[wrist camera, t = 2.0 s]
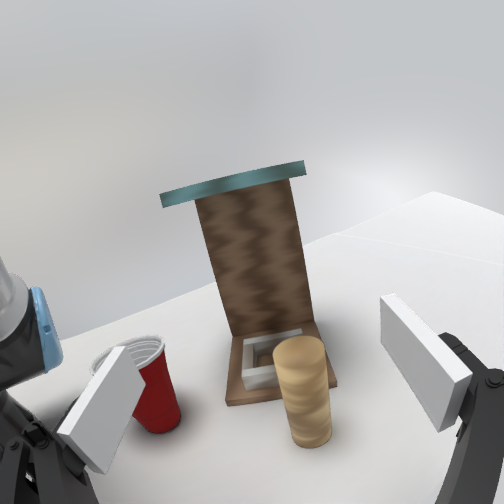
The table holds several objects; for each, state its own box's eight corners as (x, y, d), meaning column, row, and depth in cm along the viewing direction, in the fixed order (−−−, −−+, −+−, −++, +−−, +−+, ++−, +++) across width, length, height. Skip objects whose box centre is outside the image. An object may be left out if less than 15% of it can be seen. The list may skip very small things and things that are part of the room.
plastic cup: (181, 386, 40) (152, 322, 38) (210, 422, 31) (175, 350, 29) (123, 413, 35) (86, 350, 32) (138, 456, 26) (88, 387, 23)
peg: (294, 451, 25) (274, 372, 21) (290, 423, 29) (271, 341, 26) (335, 443, 25) (329, 360, 21) (327, 415, 29) (318, 331, 26)
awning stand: (227, 406, 34) (156, 194, 27) (234, 337, 52) (193, 185, 44) (336, 386, 33) (305, 159, 26) (313, 322, 51) (284, 164, 43)
